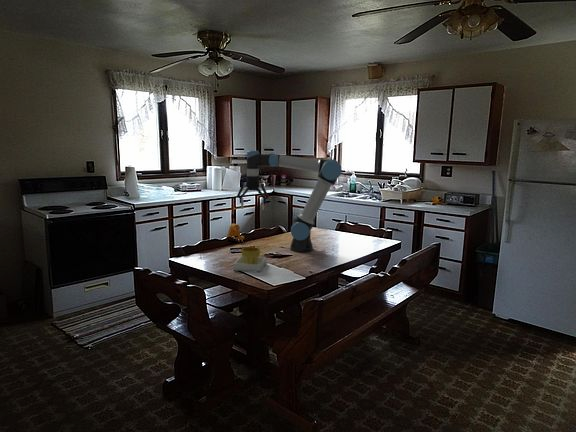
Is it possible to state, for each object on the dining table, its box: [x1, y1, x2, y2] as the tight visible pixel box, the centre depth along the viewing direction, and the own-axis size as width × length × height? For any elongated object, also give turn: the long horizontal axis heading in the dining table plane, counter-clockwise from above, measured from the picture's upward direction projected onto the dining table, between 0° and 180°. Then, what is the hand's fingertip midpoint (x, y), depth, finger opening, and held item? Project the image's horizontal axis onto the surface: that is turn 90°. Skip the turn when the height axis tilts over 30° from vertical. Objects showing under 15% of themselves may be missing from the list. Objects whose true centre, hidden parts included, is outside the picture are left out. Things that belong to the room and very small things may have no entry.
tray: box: [232, 255, 267, 273], centre depth 230 cm, size 16×16×4 cm
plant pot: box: [241, 246, 261, 265], centre depth 230 cm, size 10×10×10 cm
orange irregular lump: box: [226, 223, 245, 242], centre depth 292 cm, size 11×7×12 cm, turn 130°
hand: (252, 209), depth 255 cm, fingers open, 13 cm apart
